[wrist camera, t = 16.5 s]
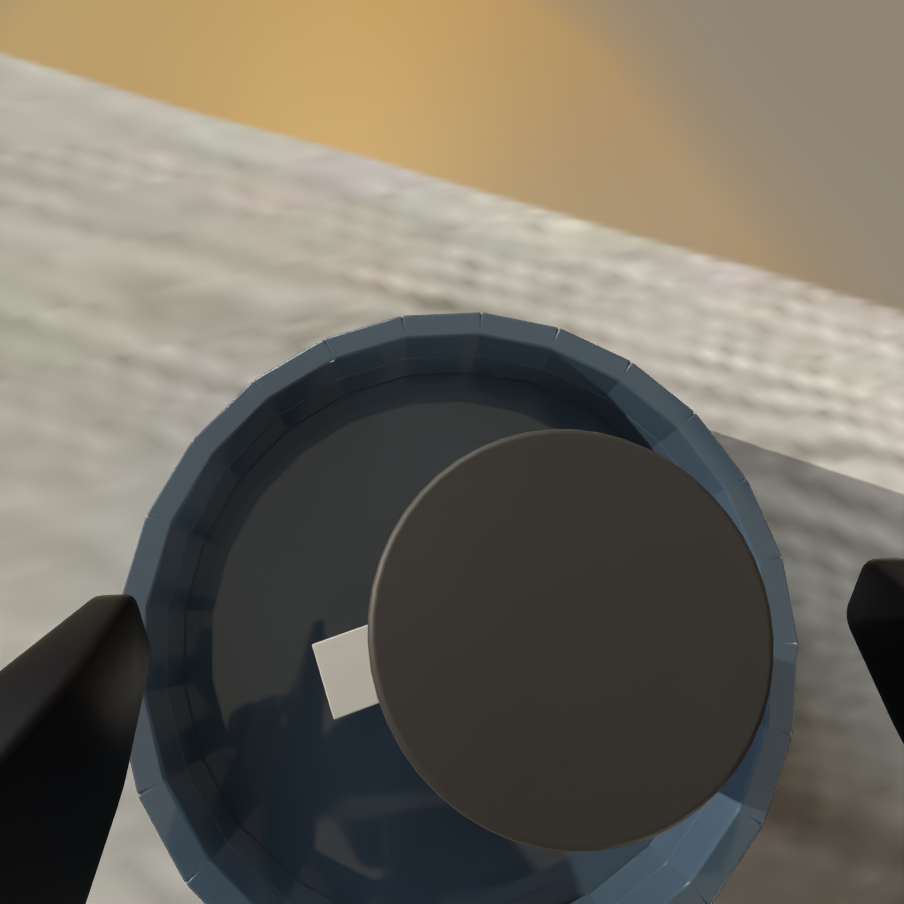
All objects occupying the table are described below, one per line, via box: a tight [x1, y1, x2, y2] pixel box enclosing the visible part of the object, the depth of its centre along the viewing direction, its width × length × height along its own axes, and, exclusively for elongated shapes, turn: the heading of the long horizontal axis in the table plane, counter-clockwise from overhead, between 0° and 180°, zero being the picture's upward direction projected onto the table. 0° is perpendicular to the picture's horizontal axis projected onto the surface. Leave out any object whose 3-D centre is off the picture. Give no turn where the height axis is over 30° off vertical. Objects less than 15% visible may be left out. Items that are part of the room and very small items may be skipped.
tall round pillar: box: [312, 429, 774, 852], centre depth 11 cm, size 6×4×12 cm
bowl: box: [122, 313, 798, 904], centre depth 16 cm, size 14×14×3 cm
